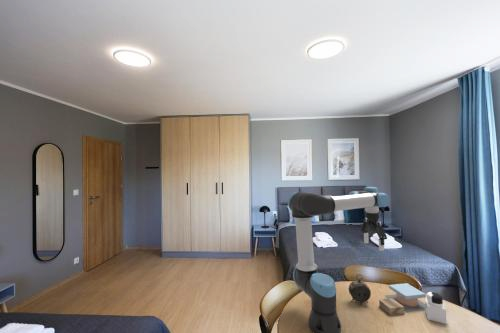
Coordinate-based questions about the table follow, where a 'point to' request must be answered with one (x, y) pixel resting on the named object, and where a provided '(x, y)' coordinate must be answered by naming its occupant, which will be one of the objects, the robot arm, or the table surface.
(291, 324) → the table surface
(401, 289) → the cover board
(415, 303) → the bowl
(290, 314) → the table surface
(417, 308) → the placemat
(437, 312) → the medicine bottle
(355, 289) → the alarm clock
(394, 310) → the cork riser
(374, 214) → the robot arm
